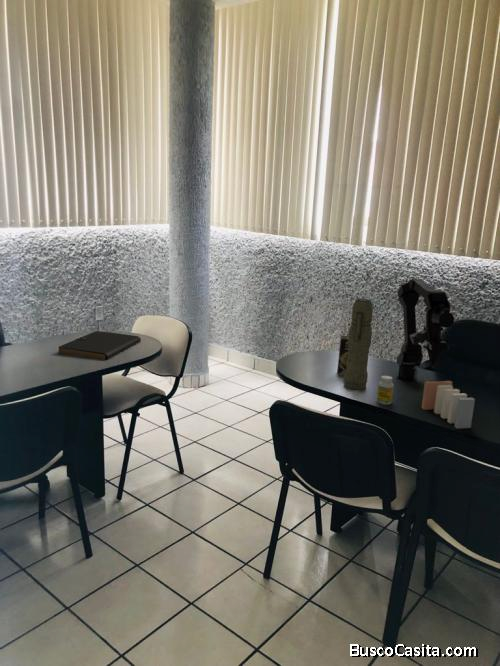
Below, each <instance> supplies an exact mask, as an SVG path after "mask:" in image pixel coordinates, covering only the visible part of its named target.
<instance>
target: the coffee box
mask: <svg viewBox="0 0 500 666" xmlns="http://www.w3.org/2000/svg"><path fill="white" fill-rule="evenodd" d="M348 348H349V345H348V335H340V341H339V351H338V360H337V370H336V376H337V375H339V376H338V377H344V375H345V371H346V369H347V358H348Z"/></svg>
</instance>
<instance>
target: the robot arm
mask: <svg viewBox="0 0 500 666" xmlns="http://www.w3.org/2000/svg"><path fill="white" fill-rule="evenodd" d="M397 289H398V290H397V297H398V302H399V304H400V306H401V307H402V309H403V333H404V336H403V337H404V343H402V346H401V348H400V352H399V354H398V355H397V357H396V364H397V365H399V366H398V373H397V374H398V375H397V376H396V379H398V380H402V381H406V382H413V381H415V380H417V375H418V369H417V367H421V364H422V361H423V348H424V349H425V350H426V351H427V354H428V359H429V363H430V366H435V364H436V362H437V361H438V359H439V357H440V355H441V353H442V352H443V351H449V350H450V344H449V343H447V342H446V341H444V338H442V331H444V329H447V328H450V327H452V326H453V325H454V323H455V318H454V317H455V316H454V315H453V314H452V312H450V311H451V304H450V302H449V301H450V300H449V298H448V295H447V293H446V291H444V290H441V289H434V288H433V287H432V286H430V285H429V284H428V283H426V282H425V281H424V279H421V278H412V279H410V280H409V281H407V282H406V283H403V284H402V285H401V286H400V287H399V288H397ZM420 296H421V297H422V298H423V301H422V302H423V303H424V305H425V306H426V307H425V309H424V312H425V325H424V327H423V328H422V329H423V330H419V331H417V320H416V319H417V318H416V306H417V304H418V303H419V301H420ZM423 343H424V345H423V346H422V345H421V344H423Z"/></svg>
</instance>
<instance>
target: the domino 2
mask: <svg viewBox="0 0 500 666" xmlns="http://www.w3.org/2000/svg"><path fill="white" fill-rule="evenodd" d="M444 389H454V386H453V385H452V386H451V385H438V386H437V393H436V401H435V408H434V409H433V413H435V414H436V415H441V409H442V402H443V395H444Z"/></svg>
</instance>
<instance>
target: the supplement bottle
mask: <svg viewBox="0 0 500 666" xmlns="http://www.w3.org/2000/svg"><path fill="white" fill-rule="evenodd" d="M380 380H381V381H379V382H378V386H377V387H378V388H377V396H376V397H377V398H376V402H378V404H382V405H391V404H392V403H393V396H394V388H395V387H394V386H395V385H394V383H393V377H392V376H391V375H381V377H380Z"/></svg>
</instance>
